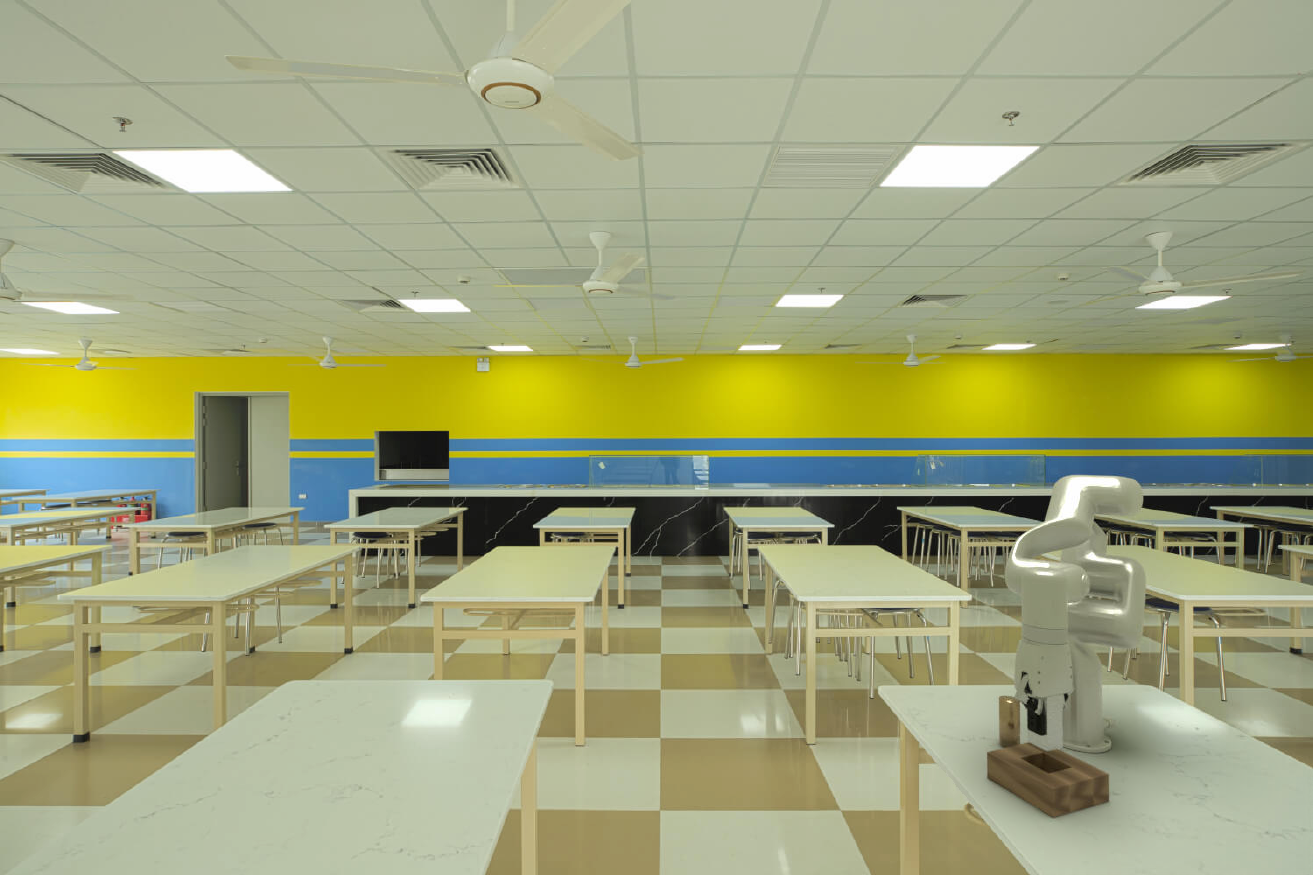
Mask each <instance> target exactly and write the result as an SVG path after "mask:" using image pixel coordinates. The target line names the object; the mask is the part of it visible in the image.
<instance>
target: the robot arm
mask: <svg viewBox="0 0 1313 875" xmlns="http://www.w3.org/2000/svg"><path fill="white" fill-rule="evenodd" d="M1048 504H1049V505H1048V508H1047V511H1046V515H1045V518H1044V521H1043V522H1041V523H1038V524H1036V525H1035V526H1033V527H1031V528H1029V529H1028V530H1026V531H1025V532H1024V533H1022V534H1021V535H1019V537H1018V538H1017V539H1015V541H1014V543H1013V544H1012V546H1011V550H1010V551H1009V555H1008V560H1007V562H1006V566H1005V571H1004V582H1005V585H1006V587H1007V588H1008V590H1009V591H1010V592H1012V593H1013V594H1015V595H1018V596H1021V639H1019V640H1018V644H1017V648H1016V653H1015V661H1014V662H1015V663H1014V675H1013V676H1014V678H1013V680H1014V685H1013V686H1014V690H1016V692H1015V694H1014V697H1015V698H1016V699H1017V700H1019V701H1020V703H1021V704H1022V705H1023V706H1024V709H1025V710H1026V714H1027V715H1026V722H1027V725H1026V727H1027V731H1028V730H1030V731H1032V732H1034V733H1036V734H1038V735H1040V736H1043V735H1044V734H1045V727H1044V714H1042V708H1043V700H1044V698H1045V697H1049V696H1054V695H1059V694H1062V697H1063V748H1065V749H1068V750H1073V751H1078V752H1081V753H1089V754H1091V753H1092V754H1100V753H1105V752H1107V751H1109V750H1111V749H1112V741H1111V738H1109V736H1107V735H1106V734H1105V731H1106V730H1107V729H1109V728H1112V727H1115V726H1116V721H1115V720H1114V718H1112V717H1105V718H1103V669H1102V662H1101V659H1100V657H1099V655H1098V654H1097V652H1096V651H1095V650H1094V648H1093V647H1092V645H1090V644H1094V645H1098V646H1099V645H1100V646H1105V647H1110V648H1115V649H1116V648H1117V649H1123V650H1135V649H1136V648H1138V647H1139V646H1140V644H1141V642H1142V639H1143V633H1144V620H1145V607H1146V590H1147V578H1146V573H1145V568H1144V567H1143V565H1142V564H1141V563H1140V562H1139V561H1138V560H1137V559H1134V558H1131V557H1128V556H1121V555H1112V554H1107V551H1108V550H1107V549H1108V537H1107V534H1106V533H1105V532H1104V531H1103V529H1102V528H1101V527H1100V526H1099V525H1098V524H1097V523H1096V521H1094V520H1095V515H1104V516H1120V517H1128V518H1129V517H1134V516H1137V514H1139V512H1140V511H1141V510H1142V508H1143V504H1144V493H1143V490H1142V487H1141V485H1140V483H1139V482H1138V481H1137V480H1136V479H1134V478H1129V477H1126V476H1118V475H1117V476H1116V475H1091V474H1070V475H1066V476H1062V477H1061V478H1059V479H1058V480H1057V481H1055V483H1054V485H1053V487H1052V494H1051V497H1050V500H1049V503H1048ZM1057 551H1061V553H1060V560H1059V561H1060V562H1059V561H1052V560H1044V559H1036V558H1037V557H1038V556H1041V555H1044V554H1048V553H1052V552H1057ZM1088 596H1089V597H1088ZM1096 597H1097V598H1096ZM1100 598H1104V599H1100ZM1107 599H1108V600H1107ZM1114 600H1115V601H1114ZM1033 698H1034V699H1036V704H1035V703H1034V702H1033V701H1032V699H1033Z"/></svg>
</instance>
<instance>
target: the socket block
mask: <svg viewBox="0 0 1313 875" xmlns="http://www.w3.org/2000/svg"><path fill="white" fill-rule="evenodd" d="M986 766H987V767H986V772H987V774H986V775H987V776H986V778H987V779H990V781H992V782H994V783H995V784H998V785H999V786H1001V787H1002V788H1004V789H1005V790H1007V791H1008V792H1010V793H1012V794H1013V795H1016V796H1017V798H1018V797H1019V798H1020V799H1021V800H1023V801H1025V802H1027V803H1029V804H1030V805H1032V806H1034V807H1035V808H1037V809H1038V810H1040V811H1042V812H1043V813H1045V814H1046V815H1048V816H1050V817H1051V818H1056V817H1059V816H1060V817H1061V816H1064V815H1067V814H1071V813H1074V812H1079V811H1080V810H1084V809H1087V808H1090V807H1093V806H1098V805H1100V804H1105V803H1108V802H1109V801H1110V774H1109V773H1107V772H1105V771H1103V770H1101V769H1099V768H1098V767H1095V766H1093V765H1092V764H1089V763H1088V762H1085V761H1083V760H1082V759H1080V758H1077V757H1076V756H1073V755H1071V754H1069V753H1068V752H1065V751H1063V750H1061V749H1060V748H1059V749H1055V750H1051V751H1046V750H1044V749H1042V748H1040V747H1038V746H1036V745H1034V744H1032V743H1030V742H1028V741H1027V742H1023V743H1020V744H1019V745H1015V746H1011V747H1007V748H1003V747H1002V748H999V749H994V750H990V751H987V752H986Z"/></svg>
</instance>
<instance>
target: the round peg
mask: <svg viewBox="0 0 1313 875" xmlns="http://www.w3.org/2000/svg"><path fill="white" fill-rule="evenodd" d="M998 739H999V740H998V743H999V746H1000V747H1002V749H1003V748H1007V747H1011V746H1015V745H1019V744H1021V702H1020V701H1019V700H1017V699H1016V698H1015V696H1010V695H999V697H998Z"/></svg>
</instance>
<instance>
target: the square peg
mask: <svg viewBox="0 0 1313 875" xmlns="http://www.w3.org/2000/svg"><path fill="white" fill-rule="evenodd" d="M1032 701H1033V702H1034V703H1035V704H1036V699H1034V698H1033V699H1032ZM1042 714H1044V727H1045V734H1044V735H1043V736H1040V735H1038V734H1036V733H1034V732H1032V731H1030V730H1028V729H1027V743H1028V742H1030V743H1032V744H1034V745H1036V746H1038V747H1040V748H1042V749H1044V750H1046V751H1051V750H1055V749H1059V750H1060V749H1063V748H1064V747H1063V697H1062V694H1059V695H1054V696H1049V697H1045V698H1044V700H1043V708H1042Z"/></svg>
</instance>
